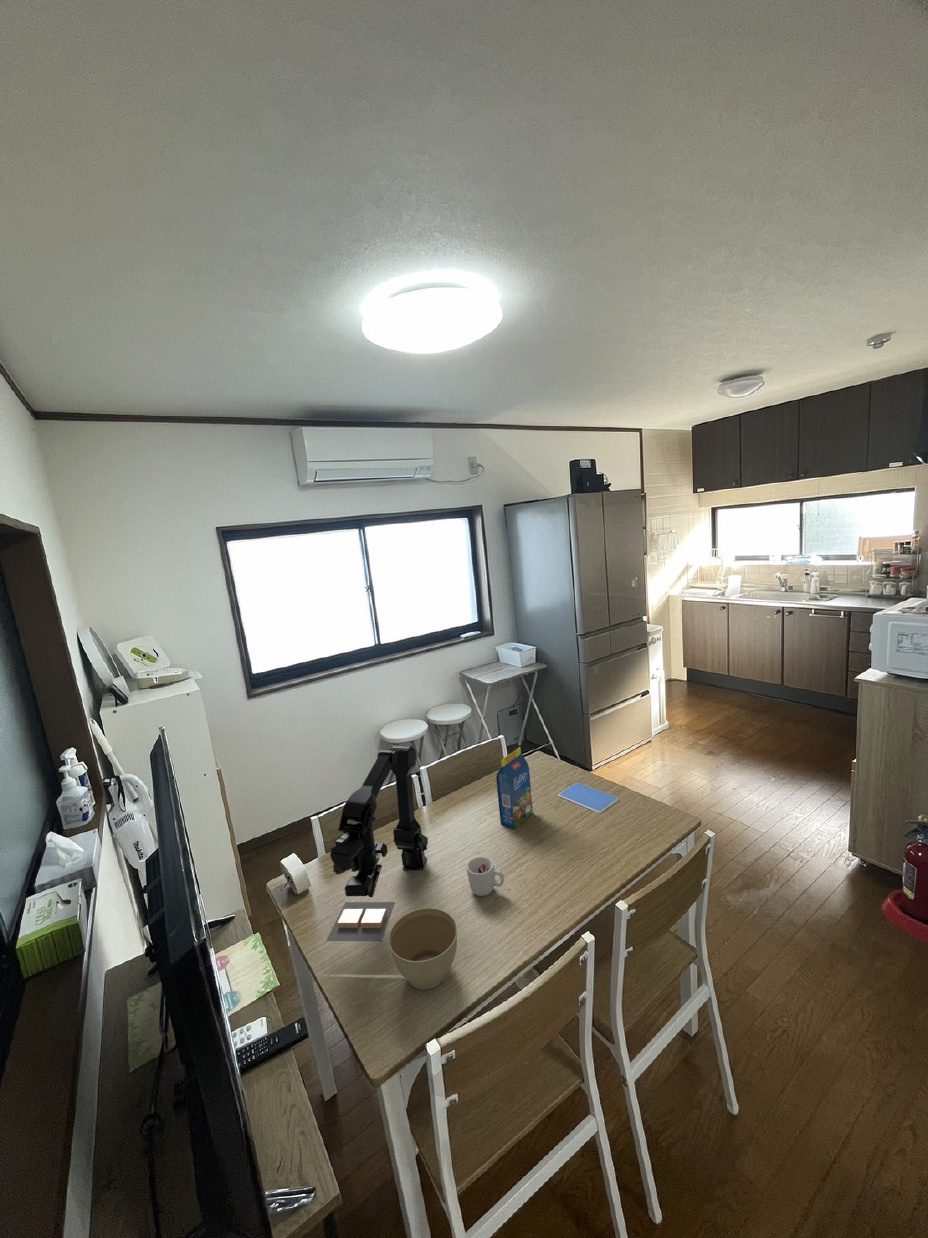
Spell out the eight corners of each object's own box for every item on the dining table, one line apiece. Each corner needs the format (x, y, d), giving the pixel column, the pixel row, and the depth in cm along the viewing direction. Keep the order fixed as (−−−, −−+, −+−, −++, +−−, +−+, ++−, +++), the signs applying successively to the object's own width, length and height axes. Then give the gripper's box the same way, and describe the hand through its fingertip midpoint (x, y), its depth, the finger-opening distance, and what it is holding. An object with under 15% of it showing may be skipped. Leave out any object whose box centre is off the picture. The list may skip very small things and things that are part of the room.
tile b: (363, 909, 140) (357, 922, 135) (363, 914, 140) (358, 928, 135) (344, 909, 140) (337, 922, 135) (345, 914, 141) (338, 928, 136)
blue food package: (533, 813, 183) (527, 748, 179) (515, 829, 174) (508, 761, 170) (518, 808, 187) (513, 745, 183) (500, 824, 178) (493, 758, 174)
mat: (395, 903, 144) (395, 902, 144) (381, 942, 130) (381, 940, 130) (345, 903, 146) (345, 902, 146) (326, 942, 132) (326, 940, 132)
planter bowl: (405, 1016, 109) (399, 973, 107) (386, 962, 124) (380, 923, 122) (472, 984, 115) (468, 942, 113) (446, 936, 130) (442, 899, 128)
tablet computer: (620, 800, 186) (619, 797, 186) (600, 815, 178) (599, 811, 178) (577, 784, 201) (577, 781, 200) (557, 797, 193) (556, 794, 192)
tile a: (385, 909, 139) (380, 922, 134) (386, 914, 139) (381, 928, 134) (366, 909, 139) (360, 922, 135) (367, 914, 140) (361, 928, 135)
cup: (508, 884, 147) (506, 859, 146) (501, 903, 139) (499, 877, 138) (473, 879, 150) (471, 855, 149) (465, 897, 143) (462, 872, 142)
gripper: (347, 824, 144) (354, 874, 147) (321, 867, 126) (329, 922, 128) (384, 823, 143) (391, 873, 145) (363, 866, 124) (371, 922, 127)
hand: (371, 896), depth 136 cm, fingers closed
